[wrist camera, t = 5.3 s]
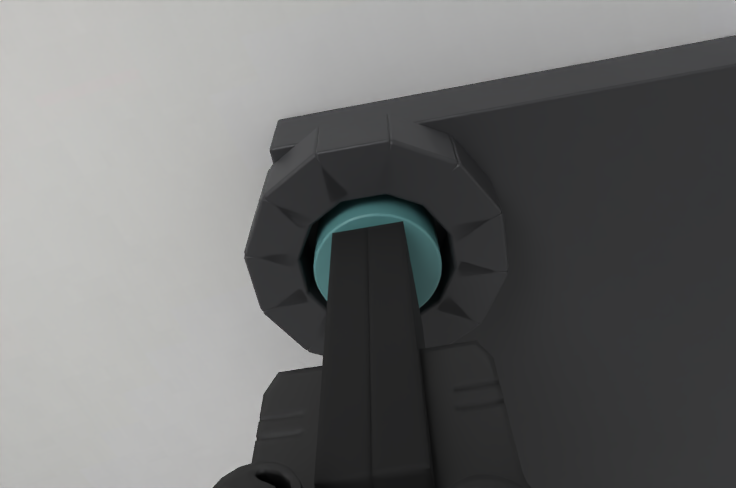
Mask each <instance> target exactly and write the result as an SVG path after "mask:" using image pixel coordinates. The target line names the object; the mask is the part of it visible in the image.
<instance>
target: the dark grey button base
mask: <svg viewBox="0 0 736 488" xmlns="http://www.w3.org/2000/svg"><path fill="white" fill-rule="evenodd" d="M270 153H271V157H272V161H273V165H272V166H271V169H269V171H268V173H267V176H266V180H265V183H264V186H263V189H262V193H261V196H260V199H259V203H258V206H257V209H256V212H255V216H254V219H253V222H252V226H251V230H250V233H249V237H248V240H247V244H246V248H245V251H244V253H245V257H244V259H245V262H246V265H247V268H248V271H249V274H250V277H251V280H252V283H253V286H254V289H255V292H256V295H257V299H258V302H259V305H260V308H261V310H262V311H263V312H264V314H265V315H266V316H268V317H269V318H270V319H271V320H272V321H273V322H274V323H276V324H277V325H278V326H279V327H280V328H281V329H283V330H284V331H285V332H286V333H287V334H288V335H289V336H291V337H292V338H293V339H294V340H295V341H296V342H298V343H299V344H300V345H301V346H302V347H303V348H304V349H306V350H308V351H309V352H311V353H315V354H319V355H323V352H324V339H325V325H326V311H327V300H326V299H325V298H324V297H323V295H322V294H321V292H320V290H319V289H318V287H317V284H316V281H315V277H314V267H313V265H314V256H315V247H316V237H317V229H318V224H319V220H320V218H321V217H323V216H324V215H325V214H326V213H328V212H329V211H330V210H332V209H333V208H334V207H335V206H337V205H338V204H339V203H340V202H343V201H348V200H354V199H360V198H366V197H372V196H377V195H383V194H387V195H391V196H394V197H397V198H400V199H403V200H407V201H410V202H413V203H416V204H419V205H423V206H424V207H425V208H426V209H427V210H428V212H429V213H430V214H431V215H432V217H433V220H434V224H435V228H436V233H437V238H438V244H439V249H440V254H441V260H442V273H441V277H440V281H439V284H438V286H437V288H436V290H435V292H434V293H433V295H432V296H431V297H430V299H429V300H428V301H427V302H426V303H425V304H424V305H423V306H421V307H420V308H419V309H420V315H421V320H422V326H423V333H424V341H425V348H429V347H436V346H442V345H449V344H455V343H462V342H468V341H475V340H477V341H478V342H479V343H480V344H481V345H482V346H483V347H484V348H485V350H486V351H487V352H488V353H489V354H490V355H491V356H492V357H493V358H494V362H495V366H496V370H497V374H498V378H499V383H500V386H501V390H502V394H503V397H504V403H505V405H506V409H507V413H508V417H509V421H510V425H511V429H512V433H513V437H514V441H515V445H516V449H517V453H518V457H519V461H520V464H521V468H522V472H523V474H524V476H525V479H526V481H527V483H528V484H529V486H530V487H531V488H736V36H730V37H725V38H719V39H714V40H709V41H703V42H698V43H692V44H687V45H682V46H676V47H671V48H665V49H660V50H654V51H649V52H644V53H638V54H633V55H627V56H622V57H617V58H611V59H606V60H600V61H595V62H590V63H584V64H579V65H573V66H568V67H562V68H557V69H552V70H546V71H541V72H535V73H530V74H525V75H519V76H514V77H508V78H503V79H498V80H492V81H487V82H481V83H476V84H470V85H465V86H460V87H454V88H449V89H443V90H438V91H433V92H427V93H422V94H416V95H411V96H405V97H400V98H395V99H389V100H384V101H378V102H373V103H368V104H362V105H357V106H351V107H346V108H341V109H335V110H330V111H324V112H319V113H313V114H308V115H303V116H297V117H292V118H286V119H281V120H278V122H277V126H276V129H275V133H274V136H273V140H272V143H271V147H270Z"/></svg>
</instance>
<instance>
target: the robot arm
mask: <svg viewBox="0 0 736 488" xmlns="http://www.w3.org/2000/svg"><path fill="white" fill-rule="evenodd" d="M256 437H257V441H255V447H254V452H253V458H252V464H248V465H245V466H241V467H239V468H237V469H235V470H234V471H232V472H231V473H229V474H227V475H226V476H224V477H222V478H221V479H220V480H219V482H218V483H217V484H216V485H215V486H214V487H213V488H531V487H530V486H529V484H528V483H527V481H526V479H525V476H524V474H523V472H522V468H521V464H520V461H519V457H518V453H517V449H516V445H515V441H514V437H513V433H512V429H511V425H510V421H509V417H508V413H507V409H506V405H505V403H504V397H503V394H502V390H501V386H500V383H499V378H498V374H497V370H496V366H495V362H494V358H493V357H492V356H491V355H490V354H489V353H488V352H487V351H486V350H485V348H484V347H483V346H482V345H481V344H480V343H479V342H478V341H477V340H475V341H468V342H462V343H455V344H449V345H442V346H436V347H429V348H425V341H424V333H423V326H422V320H421V315H420V309H419V304H418V299H417V293H416V288H415V282H414V277H413V272H412V266H411V261H410V255H409V250H408V245H407V239H406V234H405V228H404V223H403V221H401V222H395V223H389V224H383V225H377V226H371V227H365V228H359V229H354V230H348V231H342V232H336V233H332V243H331V256H330V270H329V284H328V298H327V311H326V325H325V339H324V352H323V366H317V367H311V368H304V369H298V370H291V371H285V372H279V373H278V374H277V375H276V377H275V378H274V380H273V381H272V383H271V384H270V386H269V387H268V389H267V390H266V392H265V393H264V395H263V401H262V407H261V412H260V422H259V424H258V430H257V435H256Z"/></svg>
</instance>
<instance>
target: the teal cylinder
mask: <svg viewBox="0 0 736 488" xmlns="http://www.w3.org/2000/svg"><path fill="white" fill-rule="evenodd" d="M401 221H403V223H404V228H405V234H406V239H407V245H408V250H409V255H410V261H411V266H412V272H413V277H414V282H415V288H416V293H417V299H418V304H419V308H420V307H421V306H423V305H424V304H425V303H426V302H427V301H428V300H429V299H430V297H431V296H432V295H433V293H434V292H435V290H436V288H437V286H438V284H439V281H440V277H441V273H442V260H441V254H440V249H439V244H438V238H437V233H436V228H435V224H434V220H433V217H432V215H431V214H430V213H429V212H428V210H427V209H426V208H425V207H424V206H423V205H419V204H416V203H413V202H410V201H407V200H403V199H400V198H397V197H394V196H391V195H387V194H383V195H377V196H372V197H366V198H360V199H354V200H348V201H343V202H340V203H339V204H338V205H337V206H335V207H334V208H333V209H332V210H330V211H329V212H328V213H326V214H325V215H324V216H323V217H321V218H320V220H319V224H318V229H317V237H316V247H315V256H314V265H313V267H314V277H315V281H316V284H317V287H318V289H319V290H320V292H321V294H322V295H323V297H324V298H325V299H326V300H327V298H328V284H329V270H330V256H331V243H332V233H336V232H342V231H348V230H354V229H359V228H365V227H371V226H377V225H383V224H389V223H395V222H401Z"/></svg>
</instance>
